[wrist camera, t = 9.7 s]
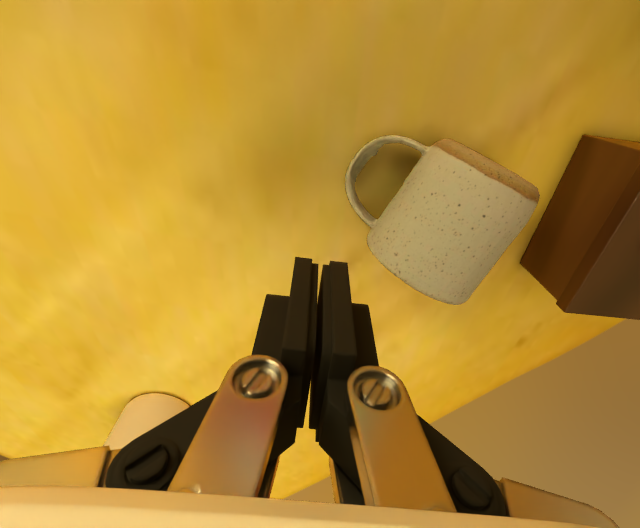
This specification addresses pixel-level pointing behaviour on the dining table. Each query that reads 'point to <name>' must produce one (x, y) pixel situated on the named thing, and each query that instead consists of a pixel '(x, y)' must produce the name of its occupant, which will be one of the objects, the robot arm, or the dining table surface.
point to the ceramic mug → (445, 217)
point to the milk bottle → (143, 417)
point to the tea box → (592, 232)
